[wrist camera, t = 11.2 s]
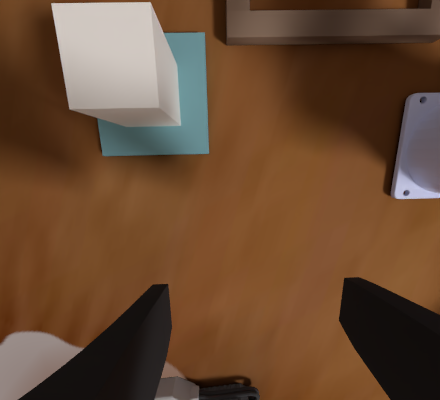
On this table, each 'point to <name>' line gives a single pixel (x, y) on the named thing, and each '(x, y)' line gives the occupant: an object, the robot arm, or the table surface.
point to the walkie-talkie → (202, 391)
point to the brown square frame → (331, 25)
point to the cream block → (117, 63)
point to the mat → (189, 110)
